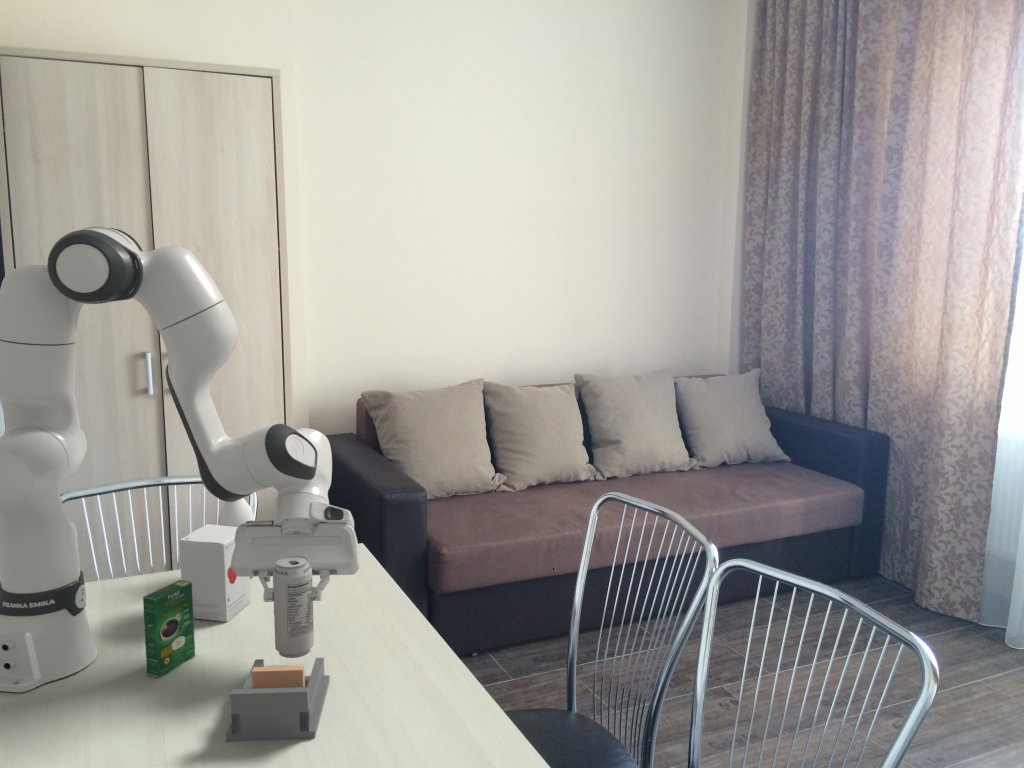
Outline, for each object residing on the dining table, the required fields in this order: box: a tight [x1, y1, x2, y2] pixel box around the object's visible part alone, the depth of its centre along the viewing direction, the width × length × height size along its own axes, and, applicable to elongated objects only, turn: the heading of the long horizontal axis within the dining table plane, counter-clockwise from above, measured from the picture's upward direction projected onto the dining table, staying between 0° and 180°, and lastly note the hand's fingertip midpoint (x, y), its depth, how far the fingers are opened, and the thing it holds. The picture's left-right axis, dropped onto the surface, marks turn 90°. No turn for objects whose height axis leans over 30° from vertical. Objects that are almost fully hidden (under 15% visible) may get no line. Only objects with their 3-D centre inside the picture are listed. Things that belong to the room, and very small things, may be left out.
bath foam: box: [217, 497, 256, 579], centre depth 169 cm, size 7×7×20 cm
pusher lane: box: [225, 657, 331, 742], centre depth 123 cm, size 12×15×7 cm
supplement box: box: [179, 523, 251, 623], centre depth 154 cm, size 9×9×15 cm
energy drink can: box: [272, 556, 315, 659], centre depth 133 cm, size 6×6×15 cm
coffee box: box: [142, 579, 196, 678], centre depth 134 cm, size 8×3×13 cm, turn 156°
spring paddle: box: [252, 665, 306, 689], centre depth 121 cm, size 7×1×6 cm, turn 94°
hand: (292, 600), depth 132 cm, fingers closed on energy drink can, 6 cm apart
